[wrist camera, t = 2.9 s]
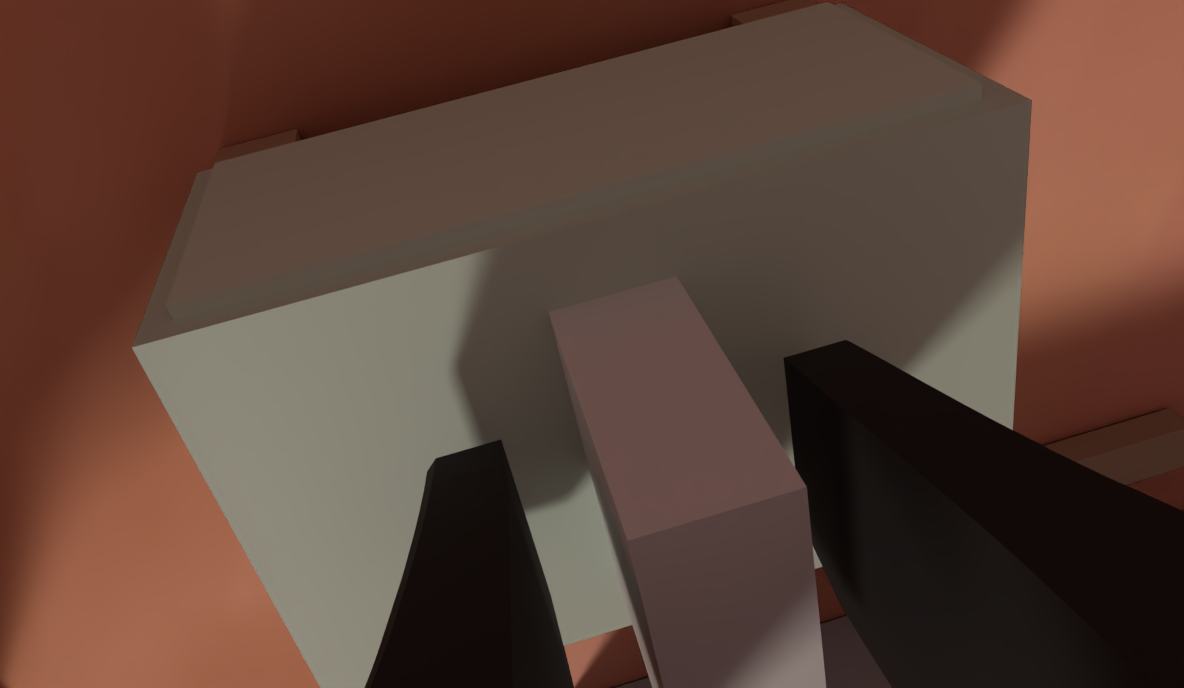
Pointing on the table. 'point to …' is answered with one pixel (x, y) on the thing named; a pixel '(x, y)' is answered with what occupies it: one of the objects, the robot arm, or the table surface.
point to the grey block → (592, 324)
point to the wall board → (1107, 451)
